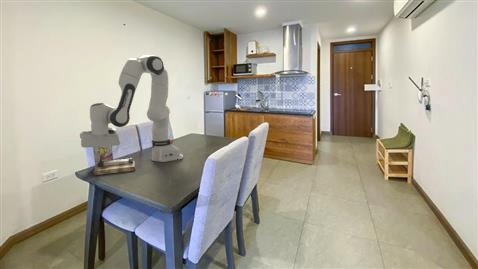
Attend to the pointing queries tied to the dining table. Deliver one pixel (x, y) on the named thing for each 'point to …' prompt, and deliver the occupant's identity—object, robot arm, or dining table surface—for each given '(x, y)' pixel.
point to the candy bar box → (108, 155)
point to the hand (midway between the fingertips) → (102, 153)
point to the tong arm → (112, 163)
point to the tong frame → (120, 160)
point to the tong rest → (114, 168)
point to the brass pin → (102, 152)
